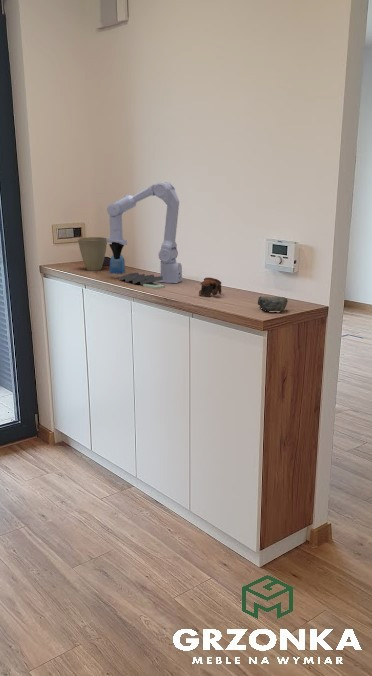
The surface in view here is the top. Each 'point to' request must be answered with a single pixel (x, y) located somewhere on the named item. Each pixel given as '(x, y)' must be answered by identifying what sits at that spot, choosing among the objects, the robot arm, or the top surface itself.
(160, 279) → the domino
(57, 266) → the top surface
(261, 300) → the rock
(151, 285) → the domino
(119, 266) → the perfume bottle
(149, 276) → the domino
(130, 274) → the domino
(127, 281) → the domino
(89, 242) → the plant pot
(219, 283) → the brown irregular lump
